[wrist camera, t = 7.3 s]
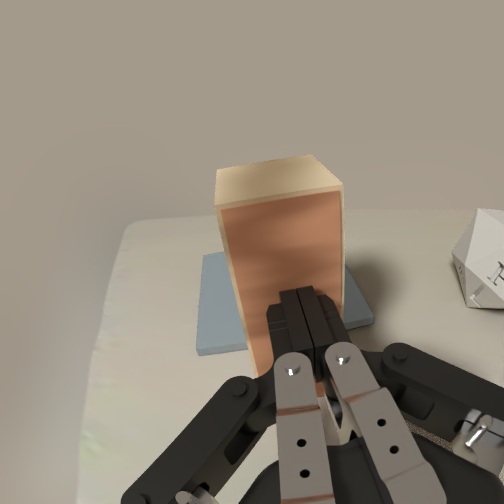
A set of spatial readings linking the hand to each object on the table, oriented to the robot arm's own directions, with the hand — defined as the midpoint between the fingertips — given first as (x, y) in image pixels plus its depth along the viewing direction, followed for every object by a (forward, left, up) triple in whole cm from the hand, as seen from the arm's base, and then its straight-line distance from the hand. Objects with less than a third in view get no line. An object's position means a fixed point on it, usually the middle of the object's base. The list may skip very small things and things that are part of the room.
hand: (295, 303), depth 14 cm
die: (-19, -5, -9) cm, 22 cm away
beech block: (0, -3, -9) cm, 9 cm away
